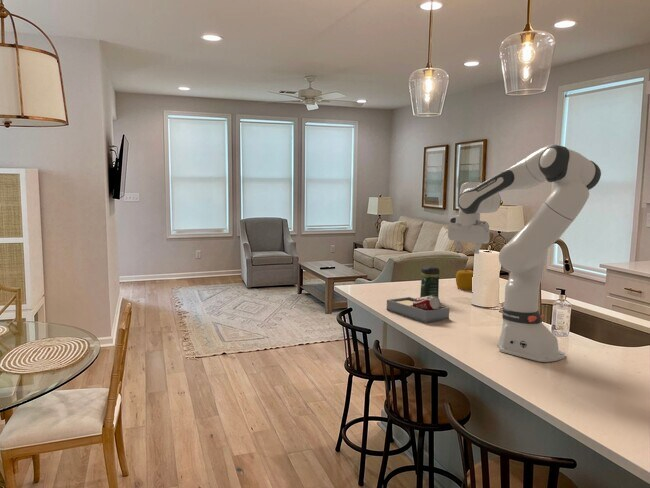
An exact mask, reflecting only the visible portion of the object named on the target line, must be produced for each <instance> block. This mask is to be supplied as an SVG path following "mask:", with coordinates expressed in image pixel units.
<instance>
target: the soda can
mask: <svg viewBox="0 0 650 488" xmlns="http://www.w3.org/2000/svg"><path fill="white" fill-rule="evenodd" d="M440 305H441V300H440V299H439V298H438V297H435V296H432V295H431V296H426V297H416V298H415V300H414V301H413V307H415V308H418V309H422V310H425V311H428V310H435V309H438V308H439V307H440Z"/></svg>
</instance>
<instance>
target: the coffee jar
mask: <svg viewBox="0 0 650 488" xmlns="http://www.w3.org/2000/svg"><path fill="white" fill-rule="evenodd" d="M420 271H421V272H420V274H421V278H420V297H426V296H431V295H432V296H435V297H438V298H439V297H440V296H439V291H440V290H439V286H440V285H439V283H440V273H441V272H440V269H439V267H436V266H432V265H423V266H422V267H421V270H420ZM420 297H419V298H420Z"/></svg>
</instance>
